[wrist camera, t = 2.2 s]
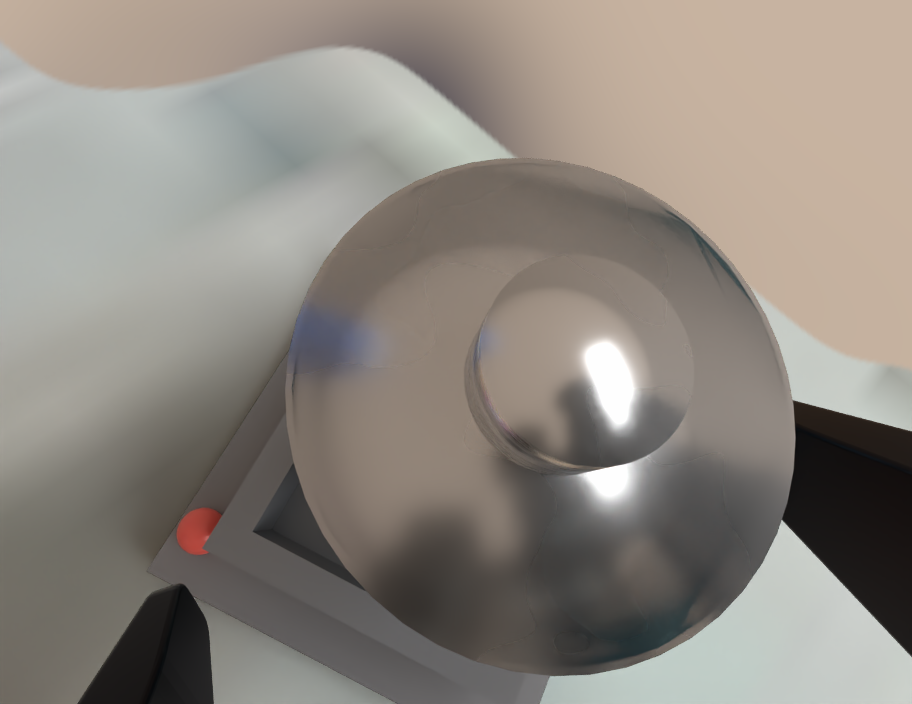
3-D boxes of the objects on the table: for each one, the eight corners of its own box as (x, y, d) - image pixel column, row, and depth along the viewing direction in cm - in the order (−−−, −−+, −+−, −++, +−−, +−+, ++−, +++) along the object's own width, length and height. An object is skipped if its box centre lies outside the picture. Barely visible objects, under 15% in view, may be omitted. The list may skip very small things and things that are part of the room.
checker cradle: (637, 408, 19) (694, 384, 15) (507, 750, 15) (544, 815, 12) (356, 261, 19) (352, 206, 15) (160, 567, 15) (101, 582, 12)
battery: (524, 445, 17) (918, 256, 5) (460, 587, 15) (793, 853, 3) (395, 377, 17) (452, 13, 5) (319, 513, 15) (116, 497, 3)
